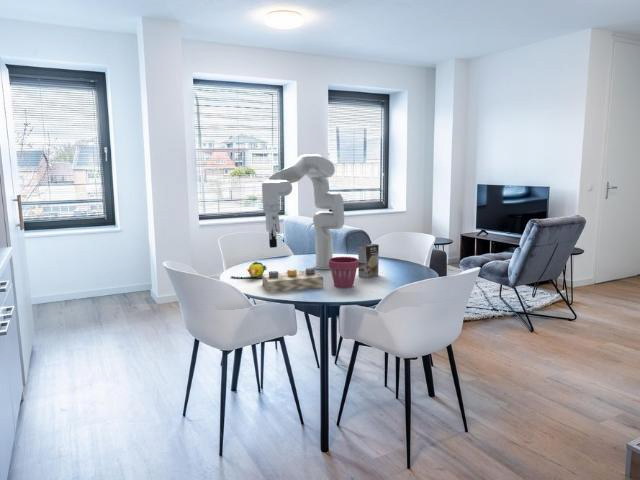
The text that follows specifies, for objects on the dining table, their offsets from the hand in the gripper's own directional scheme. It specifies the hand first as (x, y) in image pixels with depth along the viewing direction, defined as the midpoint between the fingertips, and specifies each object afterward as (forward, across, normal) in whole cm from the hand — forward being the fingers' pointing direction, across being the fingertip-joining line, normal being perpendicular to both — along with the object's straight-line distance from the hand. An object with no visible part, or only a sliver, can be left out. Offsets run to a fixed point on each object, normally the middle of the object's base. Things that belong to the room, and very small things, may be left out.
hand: (273, 247), depth 224 cm
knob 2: (+18, -1, -17) cm, 25 cm away
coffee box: (+21, +5, -50) cm, 55 cm away
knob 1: (+18, -1, +1) cm, 18 cm away
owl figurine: (+21, +24, +5) cm, 32 cm away
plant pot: (+20, -10, -31) cm, 38 cm away
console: (+20, -1, -8) cm, 21 cm away
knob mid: (+18, -1, -8) cm, 20 cm away
